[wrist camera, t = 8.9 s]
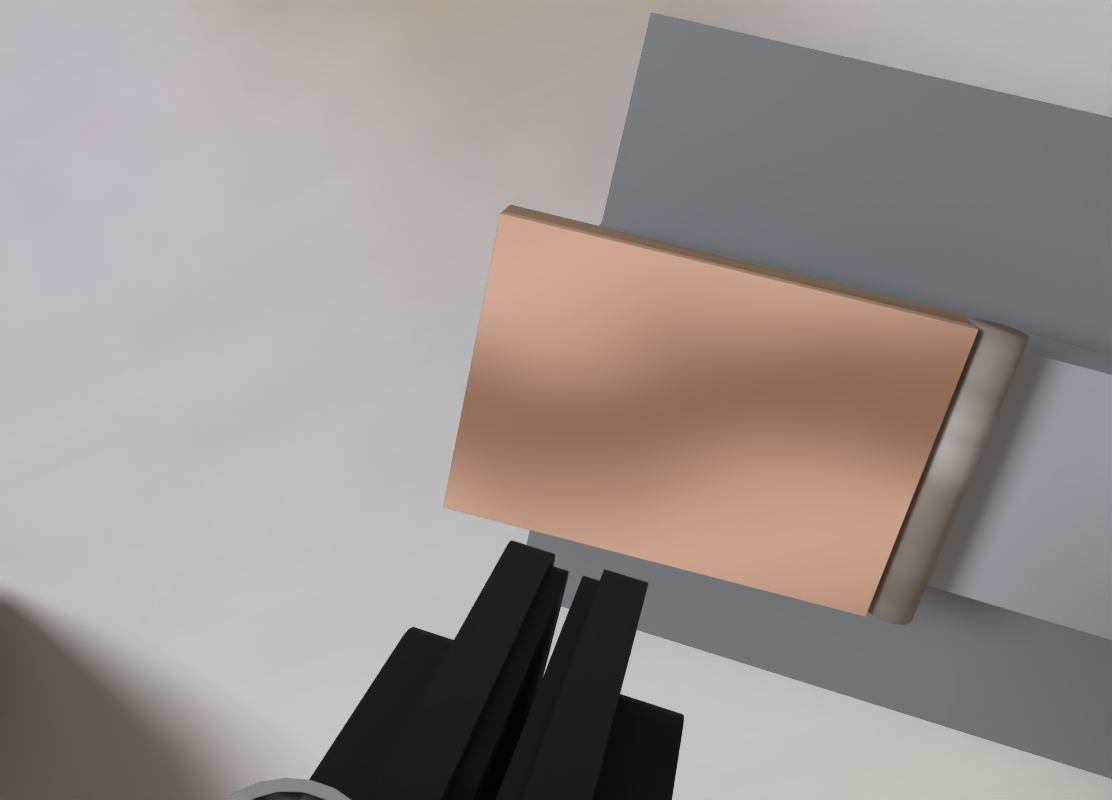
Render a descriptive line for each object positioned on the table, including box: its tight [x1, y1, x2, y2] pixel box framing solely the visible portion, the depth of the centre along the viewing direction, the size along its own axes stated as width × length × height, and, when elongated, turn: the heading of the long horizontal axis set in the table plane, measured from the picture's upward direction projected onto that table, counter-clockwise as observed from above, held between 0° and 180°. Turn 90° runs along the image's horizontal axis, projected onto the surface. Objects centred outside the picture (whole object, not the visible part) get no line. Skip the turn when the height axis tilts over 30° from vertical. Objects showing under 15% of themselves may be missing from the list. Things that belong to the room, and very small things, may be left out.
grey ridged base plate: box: [527, 13, 1112, 778], centre depth 23 cm, size 16×20×3 cm
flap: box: [443, 205, 1029, 625], centre depth 22 cm, size 7×11×1 cm, turn 78°
